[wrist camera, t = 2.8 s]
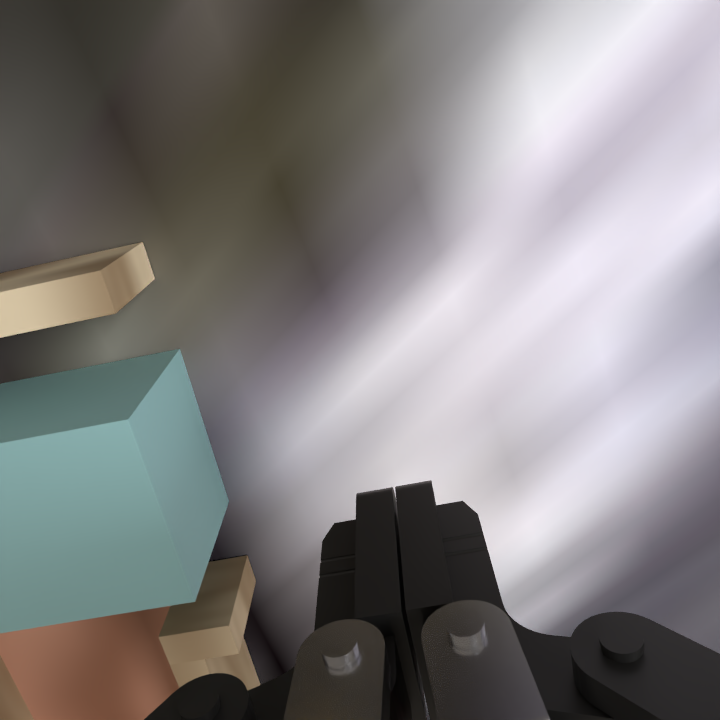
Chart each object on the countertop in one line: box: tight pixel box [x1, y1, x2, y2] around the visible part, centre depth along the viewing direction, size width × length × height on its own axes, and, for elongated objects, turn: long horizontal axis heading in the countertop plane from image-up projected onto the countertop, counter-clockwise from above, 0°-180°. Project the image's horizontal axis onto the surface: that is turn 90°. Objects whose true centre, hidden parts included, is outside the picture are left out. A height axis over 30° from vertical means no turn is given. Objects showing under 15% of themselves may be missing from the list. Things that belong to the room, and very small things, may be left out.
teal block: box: [0, 349, 229, 633], centre depth 18 cm, size 7×5×4 cm
